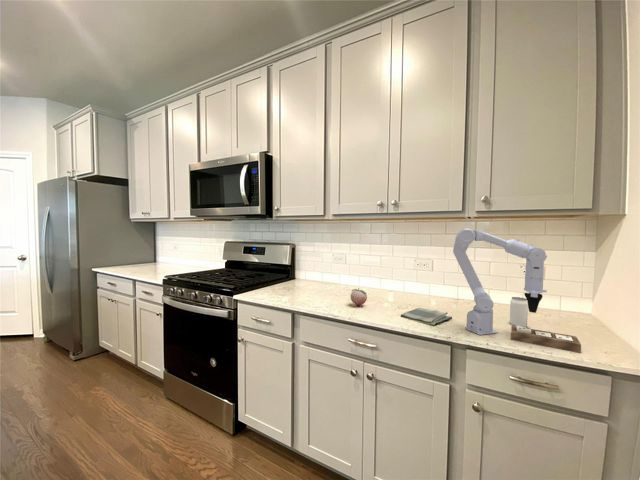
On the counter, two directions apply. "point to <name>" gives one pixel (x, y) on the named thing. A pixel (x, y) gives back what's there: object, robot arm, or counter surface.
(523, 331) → the three dot tile
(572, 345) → the brown wooden tray
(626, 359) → the counter surface
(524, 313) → the can
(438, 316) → the dish towel
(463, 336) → the counter surface
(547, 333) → the one dot tile
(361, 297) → the decorative fruit
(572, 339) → the two dot tile
